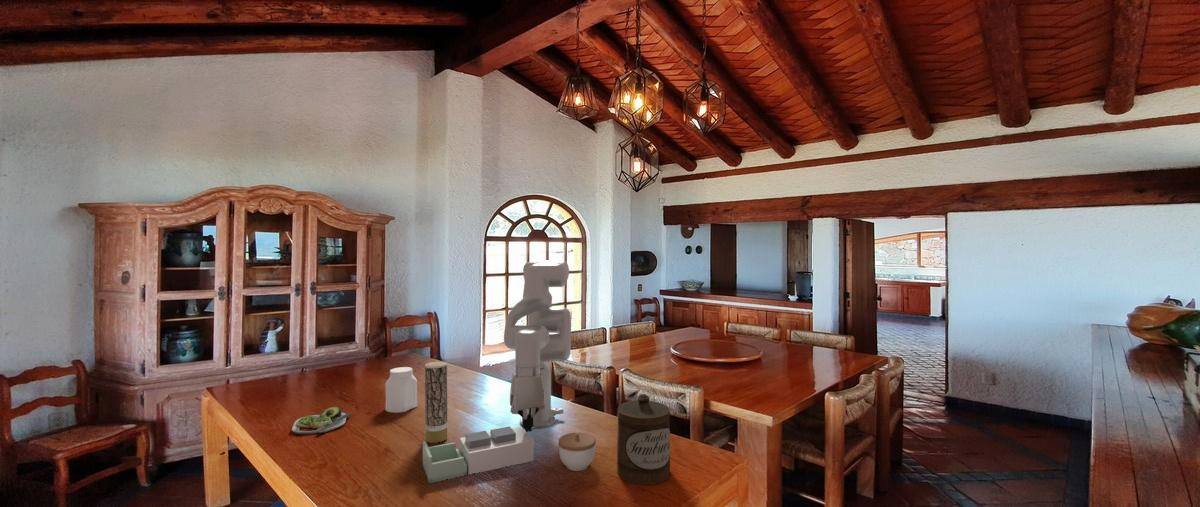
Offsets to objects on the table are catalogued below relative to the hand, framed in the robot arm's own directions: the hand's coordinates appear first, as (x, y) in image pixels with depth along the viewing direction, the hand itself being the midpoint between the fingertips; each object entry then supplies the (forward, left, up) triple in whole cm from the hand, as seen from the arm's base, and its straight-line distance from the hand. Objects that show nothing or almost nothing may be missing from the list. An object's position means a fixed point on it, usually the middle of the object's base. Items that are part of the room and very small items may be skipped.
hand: (527, 430), depth 148 cm
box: (+25, 0, -7) cm, 26 cm away
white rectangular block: (+10, 0, -7) cm, 12 cm away
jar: (+30, -62, -7) cm, 69 cm away
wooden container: (-25, +27, -7) cm, 37 cm away
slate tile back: (+8, 0, -1) cm, 8 cm away
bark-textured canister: (+23, -23, -7) cm, 34 cm away
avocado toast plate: (+57, -56, -8) cm, 80 cm away
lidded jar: (-10, +15, -7) cm, 19 cm away
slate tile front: (+15, 0, -1) cm, 15 cm away
